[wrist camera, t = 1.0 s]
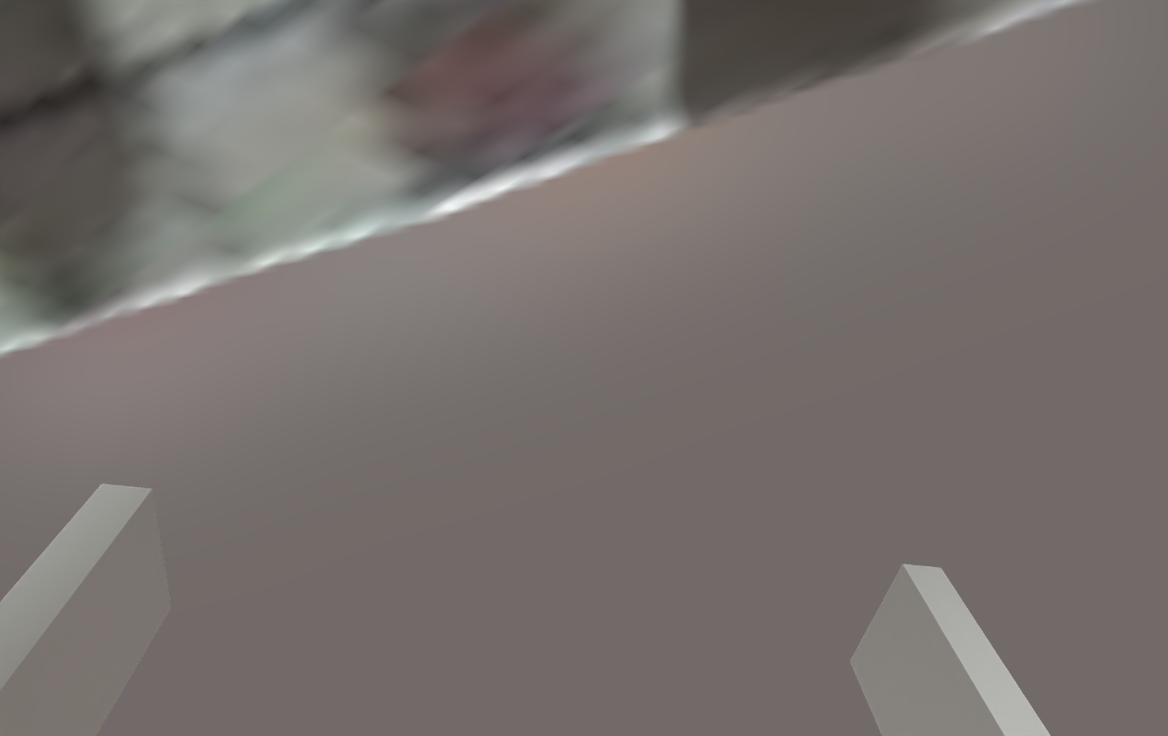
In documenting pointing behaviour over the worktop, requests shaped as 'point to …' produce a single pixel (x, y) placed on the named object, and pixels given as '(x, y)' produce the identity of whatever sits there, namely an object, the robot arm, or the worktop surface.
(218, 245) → the worktop surface
